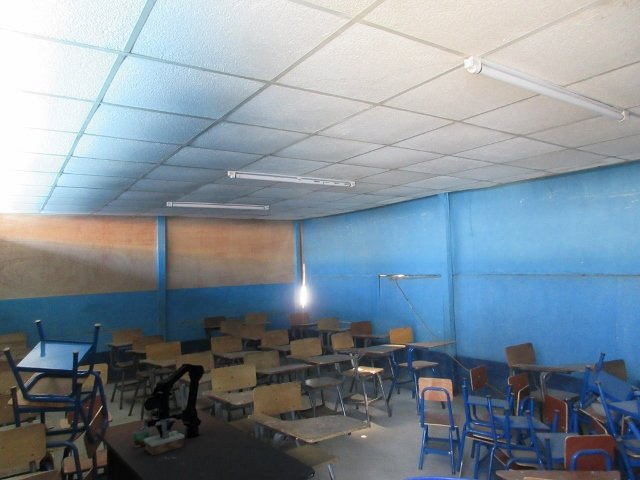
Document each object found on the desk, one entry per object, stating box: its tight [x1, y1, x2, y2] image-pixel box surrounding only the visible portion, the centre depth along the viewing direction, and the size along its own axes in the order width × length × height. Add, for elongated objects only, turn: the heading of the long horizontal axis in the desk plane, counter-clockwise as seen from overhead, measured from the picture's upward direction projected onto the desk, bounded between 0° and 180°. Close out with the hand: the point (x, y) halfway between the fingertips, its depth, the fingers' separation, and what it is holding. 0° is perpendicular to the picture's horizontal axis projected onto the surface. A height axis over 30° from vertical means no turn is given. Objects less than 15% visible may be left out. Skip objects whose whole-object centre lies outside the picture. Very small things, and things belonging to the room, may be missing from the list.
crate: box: [144, 438, 184, 456], centre depth 228 cm, size 16×11×5 cm
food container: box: [132, 425, 153, 449], centre depth 236 cm, size 12×6×10 cm, turn 168°
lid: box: [144, 428, 185, 447], centre depth 229 cm, size 17×12×6 cm
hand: (164, 436), depth 229 cm, fingers open, 3 cm apart
